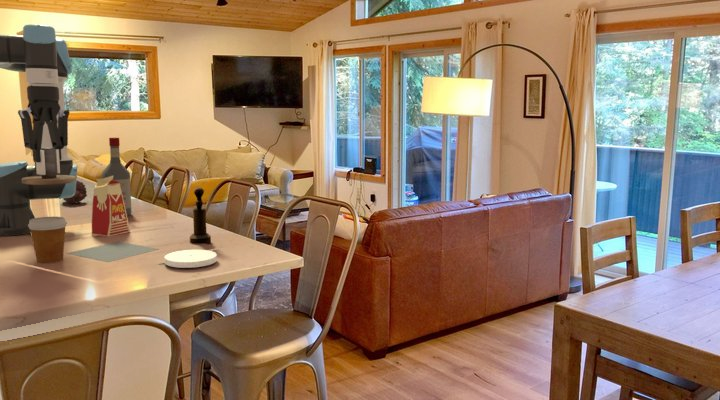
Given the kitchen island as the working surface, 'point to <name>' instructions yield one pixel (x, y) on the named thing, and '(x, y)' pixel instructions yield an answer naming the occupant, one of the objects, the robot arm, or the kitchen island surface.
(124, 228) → the milk carton
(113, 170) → the liquor
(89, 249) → the slate mat
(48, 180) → the wooden lid with knob
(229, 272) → the kitchen island surface
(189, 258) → the plastic lid
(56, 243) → the disposable coffee cup
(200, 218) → the black pedestal statuette
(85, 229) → the kitchen island surface
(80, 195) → the pine cone
